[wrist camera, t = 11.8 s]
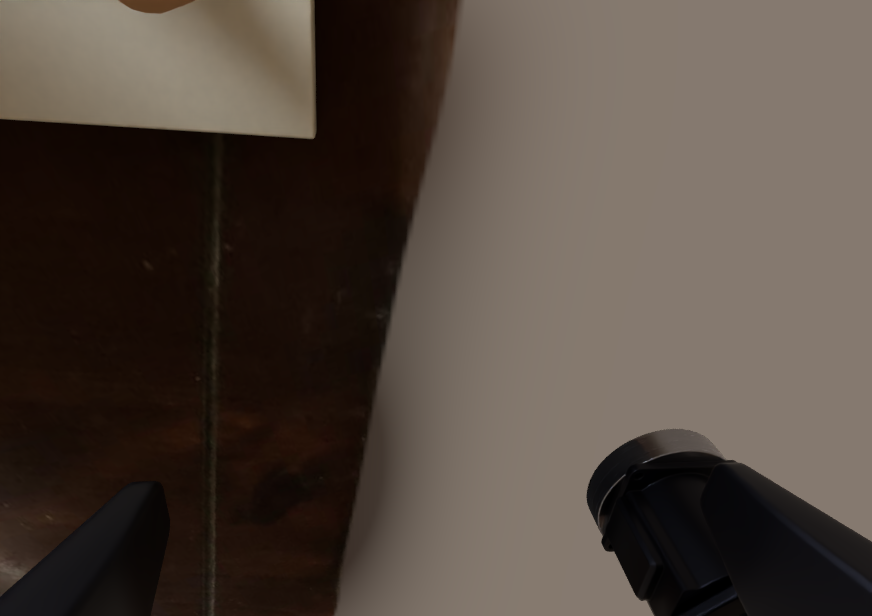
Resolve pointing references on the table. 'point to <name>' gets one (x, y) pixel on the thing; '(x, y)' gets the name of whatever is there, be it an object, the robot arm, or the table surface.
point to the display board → (161, 65)
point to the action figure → (154, 5)
